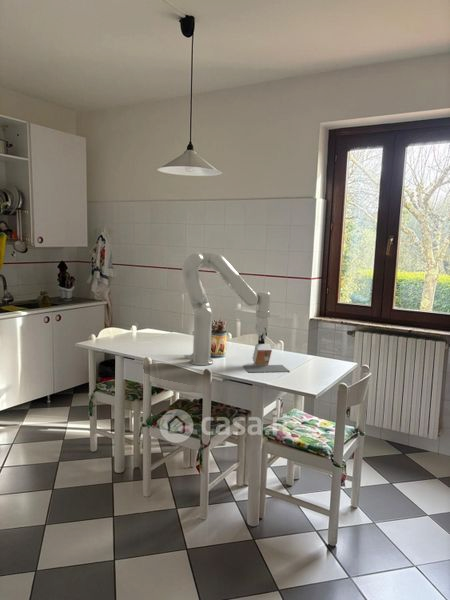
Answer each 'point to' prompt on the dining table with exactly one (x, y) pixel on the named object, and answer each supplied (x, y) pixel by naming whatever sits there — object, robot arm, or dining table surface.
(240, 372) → the dining table surface
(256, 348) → the small box
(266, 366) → the mat
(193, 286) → the robot arm
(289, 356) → the dining table surface
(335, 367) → the dining table surface
